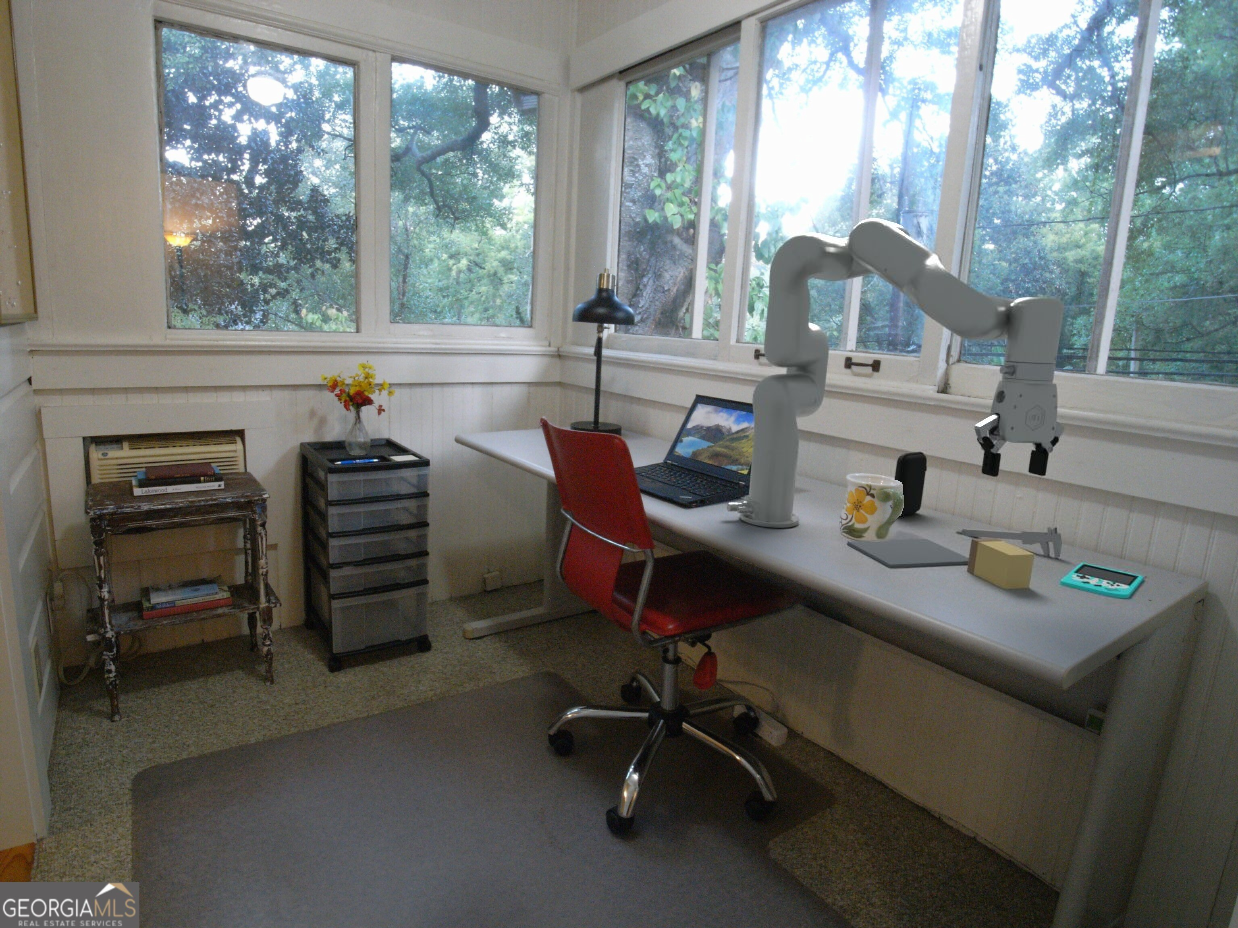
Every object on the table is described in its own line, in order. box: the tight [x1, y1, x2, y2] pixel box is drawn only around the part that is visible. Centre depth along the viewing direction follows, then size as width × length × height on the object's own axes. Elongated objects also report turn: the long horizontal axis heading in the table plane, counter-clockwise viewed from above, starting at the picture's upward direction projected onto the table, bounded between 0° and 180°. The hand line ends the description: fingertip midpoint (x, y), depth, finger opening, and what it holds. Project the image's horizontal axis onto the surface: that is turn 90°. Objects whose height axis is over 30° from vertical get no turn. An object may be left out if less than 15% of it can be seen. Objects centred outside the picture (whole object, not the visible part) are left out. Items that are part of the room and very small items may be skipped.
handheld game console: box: [1059, 562, 1144, 599], centre depth 132 cm, size 10×16×1 cm, turn 137°
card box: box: [966, 537, 1035, 590], centre depth 129 cm, size 5×9×6 cm, turn 15°
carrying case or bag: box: [894, 451, 928, 517], centre depth 171 cm, size 11×3×15 cm, turn 126°
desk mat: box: [846, 538, 969, 569], centre depth 142 cm, size 18×14×1 cm
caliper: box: [955, 526, 1063, 559], centre depth 151 cm, size 20×1×6 cm, turn 38°
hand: (1013, 474), depth 127 cm, fingers open, 9 cm apart
